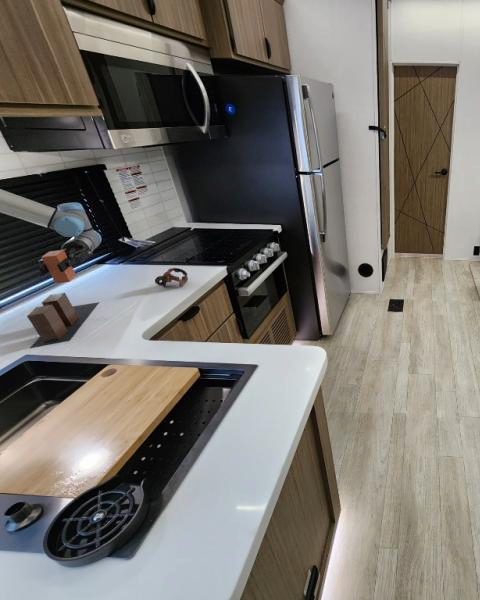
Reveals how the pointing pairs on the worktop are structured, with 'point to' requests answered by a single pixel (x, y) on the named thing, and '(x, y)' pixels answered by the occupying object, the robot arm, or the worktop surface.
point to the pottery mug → (171, 277)
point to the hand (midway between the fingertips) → (51, 269)
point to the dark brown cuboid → (47, 323)
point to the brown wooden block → (62, 308)
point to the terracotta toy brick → (51, 263)
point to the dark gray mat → (83, 314)
